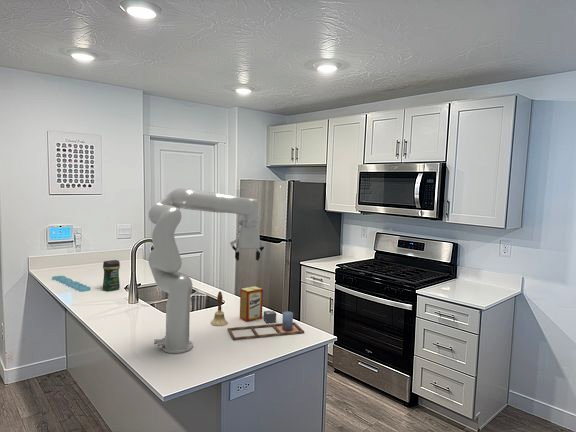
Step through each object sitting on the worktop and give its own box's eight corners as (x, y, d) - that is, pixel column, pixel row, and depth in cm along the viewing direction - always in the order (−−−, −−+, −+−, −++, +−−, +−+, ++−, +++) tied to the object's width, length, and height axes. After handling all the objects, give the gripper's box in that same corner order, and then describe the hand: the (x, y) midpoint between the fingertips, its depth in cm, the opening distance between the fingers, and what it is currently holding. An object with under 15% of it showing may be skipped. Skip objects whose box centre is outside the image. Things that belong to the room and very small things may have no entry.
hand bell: (231, 323, 200) (231, 292, 199) (217, 327, 194) (218, 294, 192) (220, 319, 205) (221, 288, 204) (207, 323, 199) (207, 291, 198)
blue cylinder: (284, 331, 191) (284, 315, 190) (280, 327, 195) (281, 311, 195) (293, 330, 192) (294, 314, 192) (290, 327, 197) (290, 311, 196)
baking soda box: (246, 322, 203) (247, 290, 201) (239, 318, 208) (240, 287, 206) (262, 318, 209) (262, 288, 207) (254, 315, 214) (255, 285, 212)
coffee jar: (106, 292, 247) (106, 262, 245) (100, 289, 252) (100, 260, 251) (121, 289, 254) (122, 260, 253) (115, 287, 259) (115, 258, 258)
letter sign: (51, 279, 274) (51, 276, 273) (62, 278, 279) (62, 275, 278) (80, 293, 245) (80, 289, 245) (91, 291, 250) (91, 287, 250)
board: (233, 340, 178) (233, 338, 178) (227, 330, 190) (227, 328, 190) (304, 333, 190) (304, 331, 190) (294, 324, 202) (294, 322, 202)
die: (266, 323, 201) (266, 314, 201) (263, 320, 206) (263, 310, 205) (275, 323, 203) (276, 313, 202) (272, 319, 208) (273, 310, 207)
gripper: (232, 224, 185) (230, 261, 186) (268, 225, 191) (266, 261, 192) (229, 223, 192) (228, 258, 193) (264, 224, 198) (262, 258, 199)
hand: (247, 260), depth 192 cm, fingers open, 9 cm apart
